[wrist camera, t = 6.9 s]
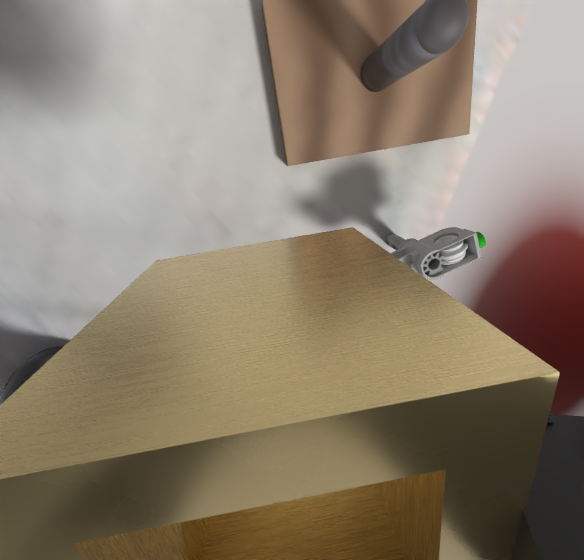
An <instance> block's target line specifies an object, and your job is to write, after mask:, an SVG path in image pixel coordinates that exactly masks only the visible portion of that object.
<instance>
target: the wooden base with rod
mask: <svg viewBox="0 0 584 560" xmlns="http://www.w3.org/2000/svg"><path fill="white" fill-rule="evenodd" d="M262 9H263V16H264V22H265V28H266V35H267V41H268V47H269V54H270V60H271V67H272V73H273V79H274V86H275V92H276V98H277V105H278V111H279V117H280V124H281V130H282V137H283V143H284V149H285V156H286V162H287V166H291V165H297V164H302V163H308V162H314V161H319V160H325V159H331V158H336V157H342V156H348V155H353V154H359V153H365V152H370V151H376V150H382V149H387V148H393V147H399V146H404V145H410V144H416V143H421V142H427V141H433V140H438V139H444V138H450V137H455V136H461V135H467V134H469V129H470V112H471V96H472V79H473V63H474V47H475V30H476V14H477V0H262Z"/></svg>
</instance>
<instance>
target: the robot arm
mask: <svg viewBox="0 0 584 560" xmlns="http://www.w3.org/2000/svg"><path fill="white" fill-rule="evenodd" d="M62 348H63V347H56V348H51V349H47V350H44V351H41V352H39V353H37V354H35V355H34V356H32V357H31V358H30V359H28V360H27V361H26V362H25V363H24V364H23V365H21V366H20V367H19V368H18V369H17V370H16V371H15V372H14V373H13V374H12V375H11V377H10V378H9V380H8V382H7V384H6V386H5V388H4V391H3V392H2V394H1V396H0V405H1V404H2V403H3V402H4V401H5V400H6V399H8V398H9V397H10V396H11V395H12V394H13V393H14V392H15V391H16V390H17V389H18V388H19V387H21V386H22V385H23V384H24V383H25V382H26V381H27V380H28V379H29V378H30V377H31V376H32V375H33V374H35V373H36V372H37V371H38V370H39V369H40V368H41V367H42V366H43V365H44V364H45V363H46V362H47V361H49V360H50V359H51V358H52V357H53V356H54V355H55V354H56V353H57V352H58V351H59V350H60V349H62ZM511 560H584V417H582V416H568V415H558V414H553V413H552V412H551V411H550V414H549V418H548V422H547V426H546V430H545V434H544V438H543V442H542V446H541V450H540V454H539V458H538V462H537V466H536V470H535V474H534V479H533V483H532V487H531V491H530V495H529V499H528V503H527V507H526V509H524V510H523V512H522V516H521V520H520V524H519V529H518V533H517V537H516V541H515V545H514V550H513V554H512V558H511Z"/></svg>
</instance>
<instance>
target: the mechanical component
mask: <svg viewBox="0 0 584 560" xmlns="http://www.w3.org/2000/svg"><path fill="white" fill-rule="evenodd" d="M386 239H387V241H388V242H389V244H388V245H389V246H390V247H392V248H393V249H395V250H396V251H395V252H393V253H391V254H392V255H393V256H394V257H396V258H397V259H399V260H400V261H402V262H403V263H404V264H406V265H407V266H409V267H410V268H412V269H413V270H414V271H416V272H417V273H419V274H420V275H422V276H423V277H424V278H427V279H430V280H435V279H439V278H441V277H442V276H444V275H445V274H447V273H449V272H451V271H453V270H455V269H458V268H460V267H462V266H464V265H466V264H469V263H471V262H473V261H475V260H477V259H480V258H481V253H480V248H482V247H484V246H485V245H486V241H485V238H484V237H483V235H482V234H481V233H480V232H472V231H469V230H466V229H460V228H455V227H453V228H452V227H451V228H446V229H442V230H440V231H438V232H436V233H433V234H431V235H429V236H427V237H425V238H423V239H421V240H418V241H417V240H416V239H407V240H405V239H403V238H401V237H399V236H397V235H395V234H390V235H388V236H387V238H386ZM462 258H463V260H461V261H460V262H458V263H455V264H451V265H443V264H445V263H452V262H455V261H458V260H460V259H462Z"/></svg>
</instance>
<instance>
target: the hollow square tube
mask: <svg viewBox="0 0 584 560" xmlns="http://www.w3.org/2000/svg"><path fill="white" fill-rule="evenodd" d="M559 374H560V373H559V372H558V371H557V370H555V369H554V368H553V367H551V366H550V365H548V364H547V363H546V362H544V361H543V360H541V359H540V358H538V357H537V356H536V355H534V354H533V353H531V352H530V351H528V350H527V349H526V348H524V347H523V346H521V345H520V344H518V343H517V342H515V341H514V340H513V339H511V338H510V337H508V336H507V335H506V334H504V333H503V332H501V331H500V330H498V329H497V328H496V327H494V326H493V325H491V324H490V323H489V322H487V321H486V320H484V319H483V318H481V317H480V316H479V315H477V314H476V313H474V312H473V311H471V310H470V309H469V308H467V307H465V306H464V305H463V304H461V303H460V302H458V301H457V300H456V299H454V298H453V297H451V296H450V295H449V294H447V293H446V292H444V291H443V290H441V289H440V288H439V287H437V286H436V285H434V284H433V283H432V282H430V281H428V280H427V279H426V278H424V277H423V276H422V275H420V274H419V273H417V272H416V271H414V270H413V269H412V268H410V267H409V266H407V265H406V264H404V263H403V262H402V261H400V260H399V259H397V258H396V257H394V256H393V255H392V254H390V253H389V252H387V251H386V250H384V249H383V248H382V247H380V246H379V245H377V244H376V243H375V242H373V241H372V240H370V239H369V238H367V237H366V236H365V235H363V234H362V233H360V232H359V231H357V230H356V229H355V228H353V227H352V228H346V229H340V230H334V231H328V232H322V233H316V234H311V235H305V236H299V237H293V238H287V239H281V240H275V241H269V242H263V243H257V244H251V245H245V246H239V247H233V248H228V249H222V250H216V251H210V252H204V253H198V254H192V255H186V256H180V257H174V258H168V259H162V260H156V261H155V262H154V263H153V264H152V265H151V266H150V267H149V268H148V269H147V270H146V271H145V272H144V273H142V274H141V275H140V276H139V277H138V278H137V279H136V280H135V281H134V282H133V283H132V284H131V285H130V286H128V287H127V288H126V289H125V290H124V291H123V292H122V293H121V294H120V295H119V296H118V297H117V298H115V299H114V300H113V301H112V302H111V303H110V304H109V305H108V306H107V307H106V308H105V309H104V310H103V311H101V312H100V313H99V314H98V315H97V316H96V317H95V318H94V319H93V320H92V321H91V322H90V323H88V324H87V325H86V326H85V327H84V328H83V329H82V330H81V331H80V332H79V333H78V334H77V335H76V336H74V337H73V338H72V339H71V340H70V341H69V342H68V343H67V344H66V345H65V346H64V347H63V348H62V349H60V350H59V351H58V352H57V353H56V354H55V355H54V356H53V357H52V358H51V359H50V360H49V361H47V362H46V363H45V364H44V365H43V366H42V367H41V368H40V369H39V370H38V371H37V372H36V373H35V374H33V375H32V376H31V377H30V378H29V379H28V380H27V381H26V382H25V383H24V384H23V385H22V386H21V387H19V388H18V389H17V390H16V391H15V392H14V393H13V394H12V395H11V396H10V397H9V398H8V399H6V400H5V401H4V402H3V403H2V404H1V405H0V560H511V558H512V554H513V550H514V545H515V541H516V537H517V533H518V529H519V524H520V520H521V516H522V512H523V510H524V509H526V507H527V503H528V499H529V495H530V491H531V487H532V483H533V479H534V474H535V470H536V466H537V462H538V458H539V454H540V450H541V446H542V442H543V438H544V434H545V430H546V426H547V422H548V418H549V414H550V410H551V406H552V402H553V398H554V394H555V390H556V386H557V382H558V377H559Z"/></svg>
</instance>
